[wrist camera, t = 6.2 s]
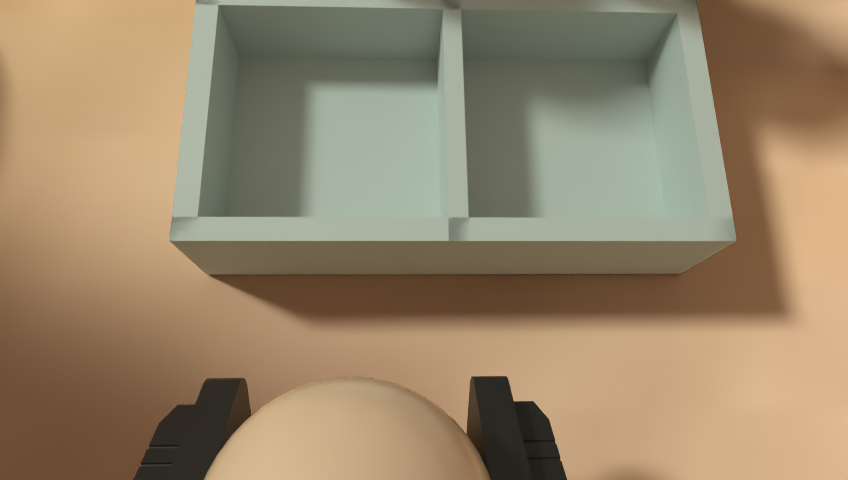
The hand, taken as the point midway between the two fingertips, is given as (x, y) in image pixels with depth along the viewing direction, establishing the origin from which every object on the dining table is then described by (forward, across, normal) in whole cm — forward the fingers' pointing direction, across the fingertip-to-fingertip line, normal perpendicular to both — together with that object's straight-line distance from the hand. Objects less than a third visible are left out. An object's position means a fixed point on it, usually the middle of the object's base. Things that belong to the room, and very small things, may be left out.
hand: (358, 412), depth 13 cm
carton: (+13, -2, -7) cm, 15 cm away
